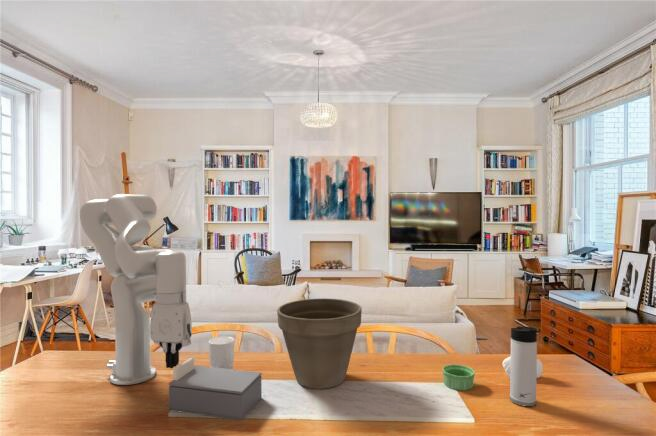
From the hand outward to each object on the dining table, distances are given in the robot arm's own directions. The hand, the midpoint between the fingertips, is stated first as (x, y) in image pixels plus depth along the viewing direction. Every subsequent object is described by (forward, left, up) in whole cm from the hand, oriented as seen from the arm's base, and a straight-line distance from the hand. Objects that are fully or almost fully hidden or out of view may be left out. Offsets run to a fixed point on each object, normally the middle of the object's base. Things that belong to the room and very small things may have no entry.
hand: (172, 366), depth 111 cm
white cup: (+4, +20, -9) cm, 22 cm away
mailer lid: (+13, 0, -2) cm, 13 cm away
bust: (+94, +39, -9) cm, 102 cm away
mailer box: (+13, 0, -9) cm, 16 cm away
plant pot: (+35, +22, -9) cm, 42 cm away
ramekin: (+75, +28, -9) cm, 80 cm away
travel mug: (+91, +21, -9) cm, 94 cm away
